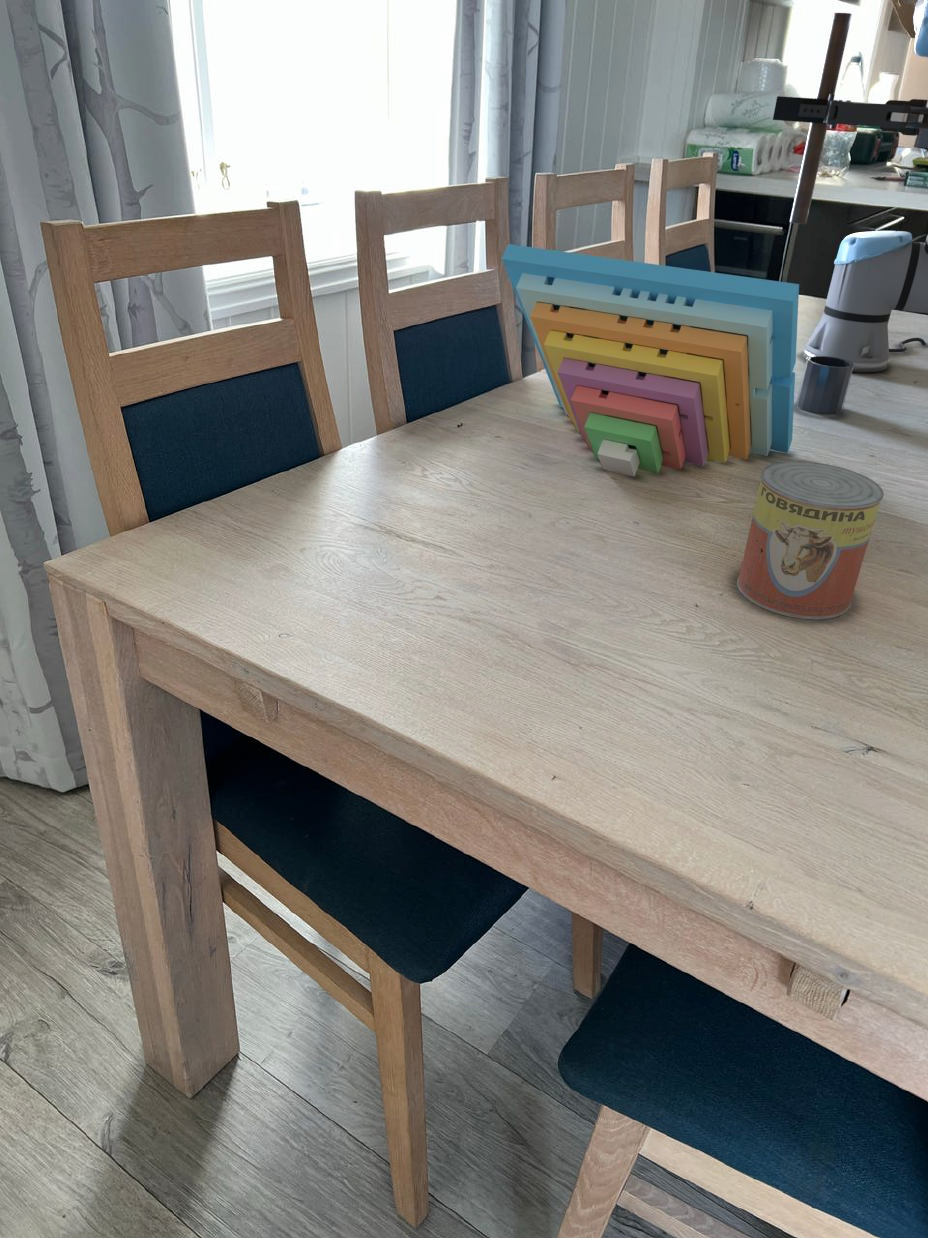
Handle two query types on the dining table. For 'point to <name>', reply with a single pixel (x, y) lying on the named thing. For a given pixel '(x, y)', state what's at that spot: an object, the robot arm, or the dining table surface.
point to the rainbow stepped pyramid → (661, 356)
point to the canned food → (808, 539)
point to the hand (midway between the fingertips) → (778, 107)
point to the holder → (824, 385)
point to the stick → (819, 129)
